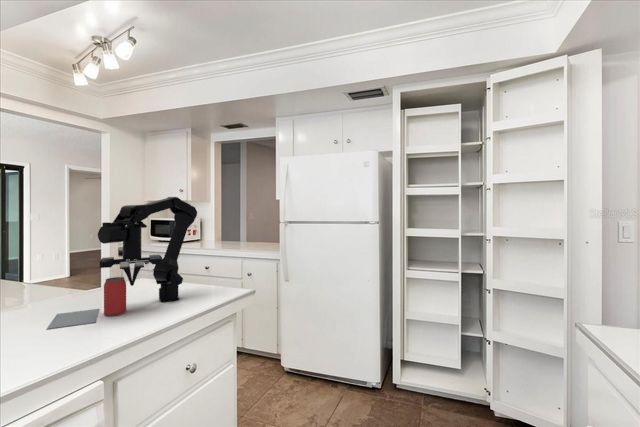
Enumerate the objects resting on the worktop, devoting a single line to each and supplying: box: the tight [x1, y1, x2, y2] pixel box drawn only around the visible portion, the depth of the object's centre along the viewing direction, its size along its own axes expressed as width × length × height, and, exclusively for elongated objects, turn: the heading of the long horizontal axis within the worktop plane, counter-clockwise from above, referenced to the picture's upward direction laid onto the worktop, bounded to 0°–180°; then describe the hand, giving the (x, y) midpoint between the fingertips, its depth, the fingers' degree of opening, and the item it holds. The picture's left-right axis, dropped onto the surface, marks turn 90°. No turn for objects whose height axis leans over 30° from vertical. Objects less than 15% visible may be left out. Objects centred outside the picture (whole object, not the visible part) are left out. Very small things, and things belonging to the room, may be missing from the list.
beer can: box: [103, 276, 127, 317], centre depth 112 cm, size 7×7×12 cm
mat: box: [46, 308, 101, 331], centre depth 107 cm, size 12×16×1 cm
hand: (132, 285), depth 115 cm, fingers closed
